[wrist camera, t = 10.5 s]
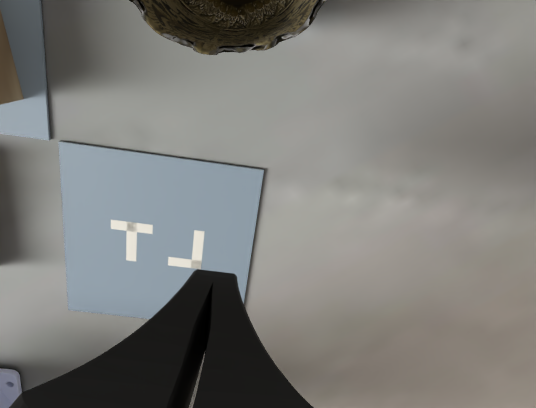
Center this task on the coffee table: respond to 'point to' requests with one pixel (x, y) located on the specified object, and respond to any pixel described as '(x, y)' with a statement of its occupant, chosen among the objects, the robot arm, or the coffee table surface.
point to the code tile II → (26, 70)
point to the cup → (228, 22)
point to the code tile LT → (150, 225)
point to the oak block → (7, 70)
